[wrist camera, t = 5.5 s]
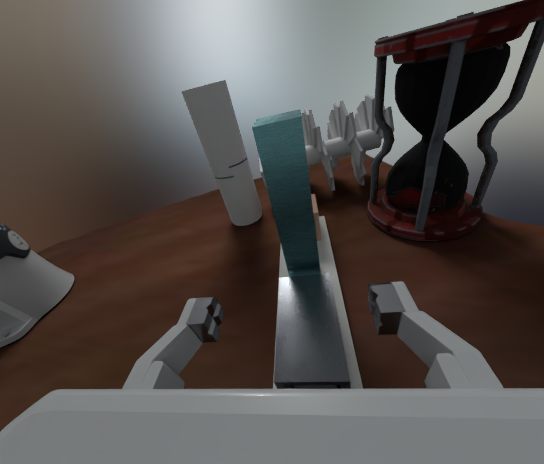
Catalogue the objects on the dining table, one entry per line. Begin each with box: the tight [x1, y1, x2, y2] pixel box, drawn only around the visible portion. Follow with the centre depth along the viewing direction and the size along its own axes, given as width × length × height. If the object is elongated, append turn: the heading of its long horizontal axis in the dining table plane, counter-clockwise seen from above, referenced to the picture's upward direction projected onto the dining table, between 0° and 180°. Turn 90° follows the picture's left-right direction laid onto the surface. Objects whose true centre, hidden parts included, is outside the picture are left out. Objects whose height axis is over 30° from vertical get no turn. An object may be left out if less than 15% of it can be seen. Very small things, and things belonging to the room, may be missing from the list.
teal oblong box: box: [252, 110, 337, 389], centre depth 20 cm, size 16×4×20 cm, turn 176°
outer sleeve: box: [274, 273, 351, 389], centre depth 21 cm, size 10×5×5 cm, turn 176°
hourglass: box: [368, 0, 544, 241], centre depth 31 cm, size 16×16×25 cm
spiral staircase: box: [259, 95, 394, 191], centre depth 48 cm, size 18×18×25 cm
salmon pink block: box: [311, 194, 321, 241], centre depth 37 cm, size 6×5×5 cm
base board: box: [273, 216, 363, 389], centre depth 30 cm, size 30×8×1 cm, turn 176°
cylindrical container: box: [182, 80, 263, 226], centre depth 42 cm, size 7×7×25 cm
